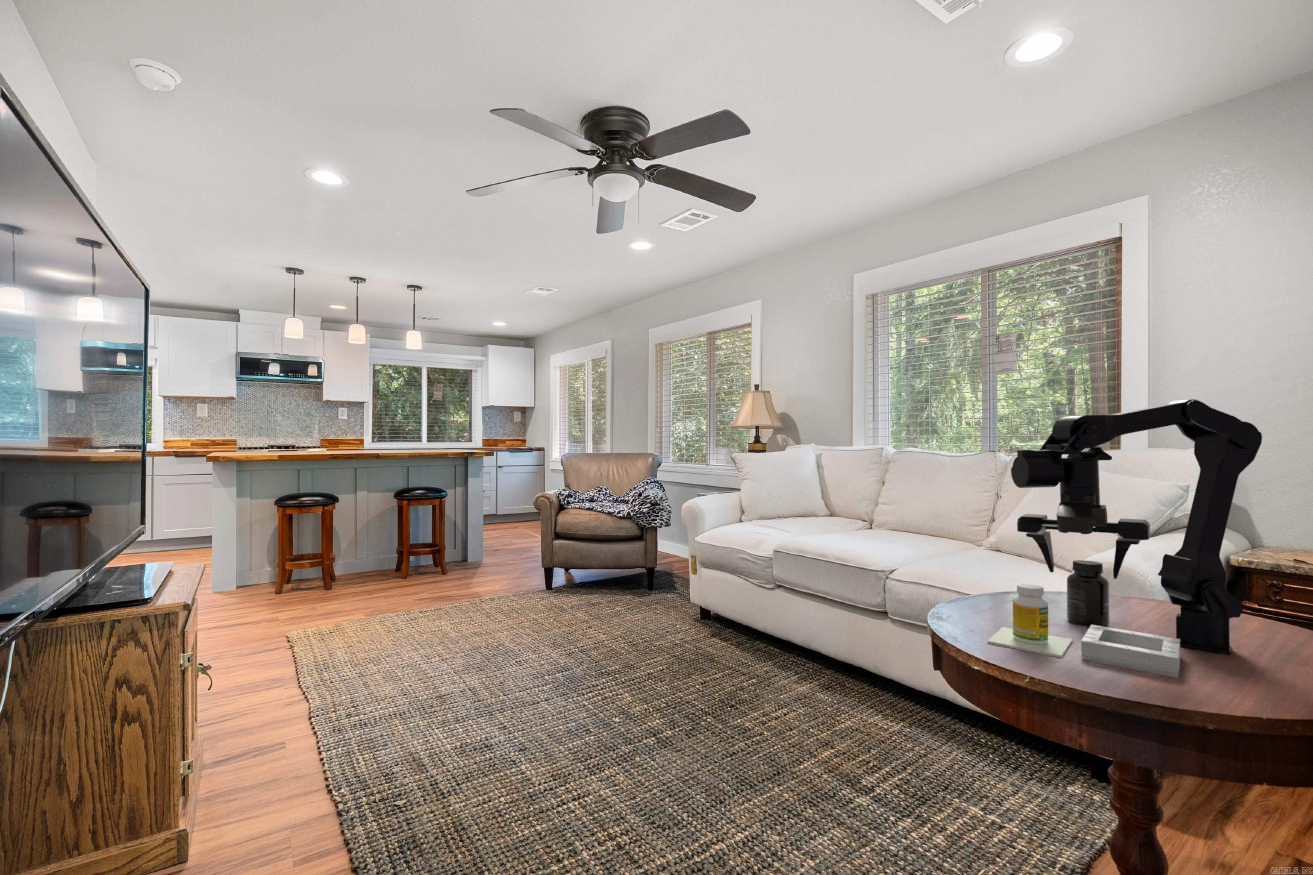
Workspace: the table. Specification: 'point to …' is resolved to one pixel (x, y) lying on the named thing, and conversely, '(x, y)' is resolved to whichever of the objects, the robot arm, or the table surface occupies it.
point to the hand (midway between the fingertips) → (1082, 575)
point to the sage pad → (1052, 647)
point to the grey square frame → (1132, 650)
